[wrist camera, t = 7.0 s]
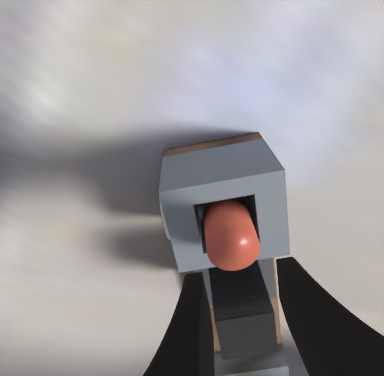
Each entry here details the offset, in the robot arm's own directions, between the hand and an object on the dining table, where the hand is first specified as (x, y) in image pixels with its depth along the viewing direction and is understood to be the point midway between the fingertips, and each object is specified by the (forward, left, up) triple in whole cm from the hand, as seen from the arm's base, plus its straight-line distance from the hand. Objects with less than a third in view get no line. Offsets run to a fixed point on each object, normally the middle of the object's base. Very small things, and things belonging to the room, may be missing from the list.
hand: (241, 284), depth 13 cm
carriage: (0, +6, -8) cm, 10 cm away
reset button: (0, 0, -5) cm, 5 cm away
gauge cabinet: (0, 0, -9) cm, 9 cm away
